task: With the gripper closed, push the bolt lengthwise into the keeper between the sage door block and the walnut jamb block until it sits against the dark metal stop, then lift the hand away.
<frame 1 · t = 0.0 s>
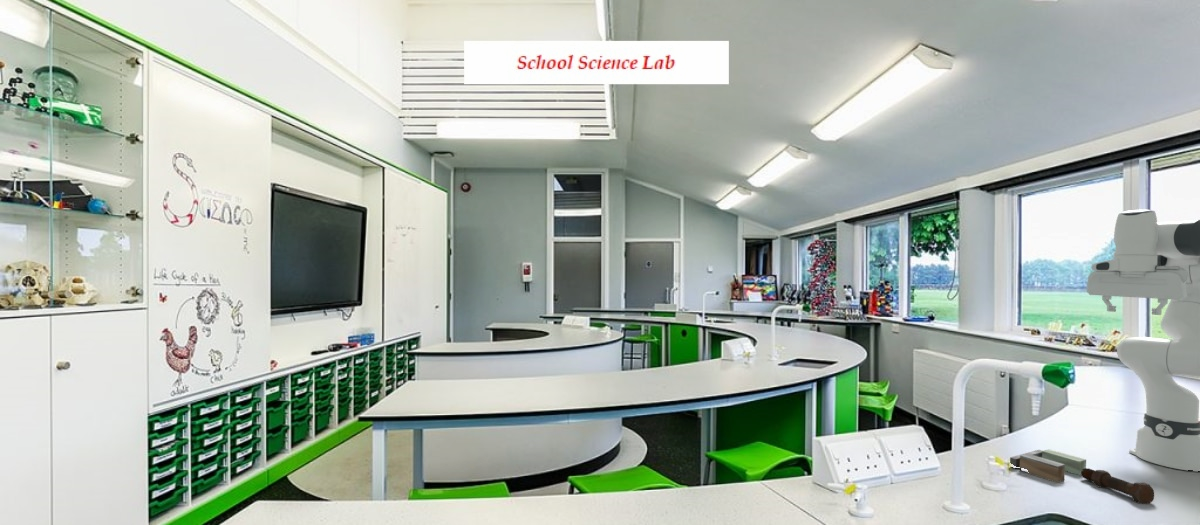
hand: (1133, 313, 148), 48 cm above the countertop, tool pointing down, fingers open, 8 cm apart
keeper: (1059, 473, 150), on the countertop
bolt: (1114, 492, 139), on the countertop
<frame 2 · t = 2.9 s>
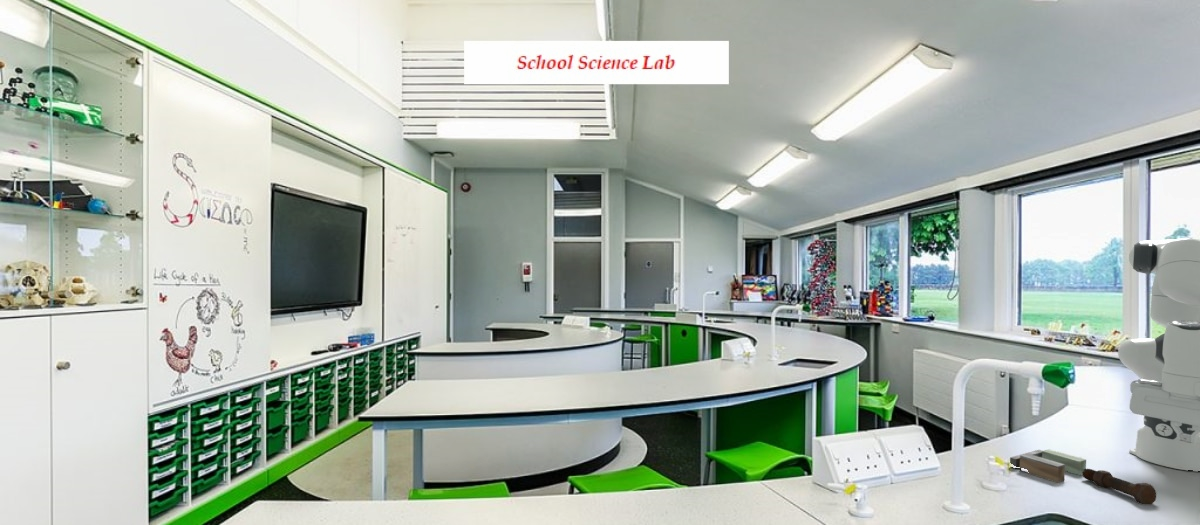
hand: (1186, 441, 127), 18 cm above the countertop, tool pointing down, fingers closed
nothing on the countertop moved.
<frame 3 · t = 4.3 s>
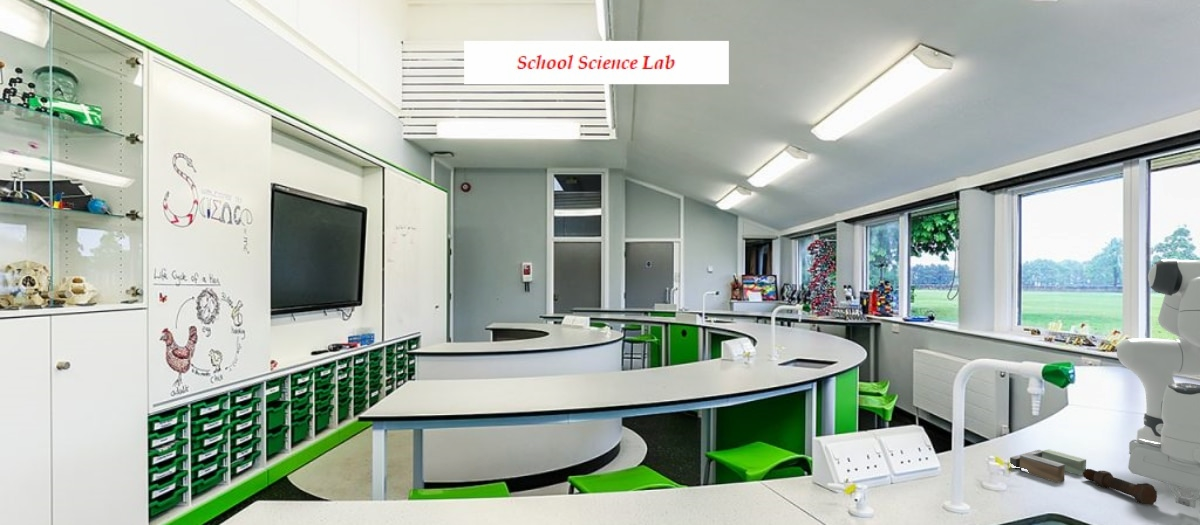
hand: (1185, 505, 127), 2 cm above the countertop, tool pointing down, fingers closed
nothing on the countertop moved.
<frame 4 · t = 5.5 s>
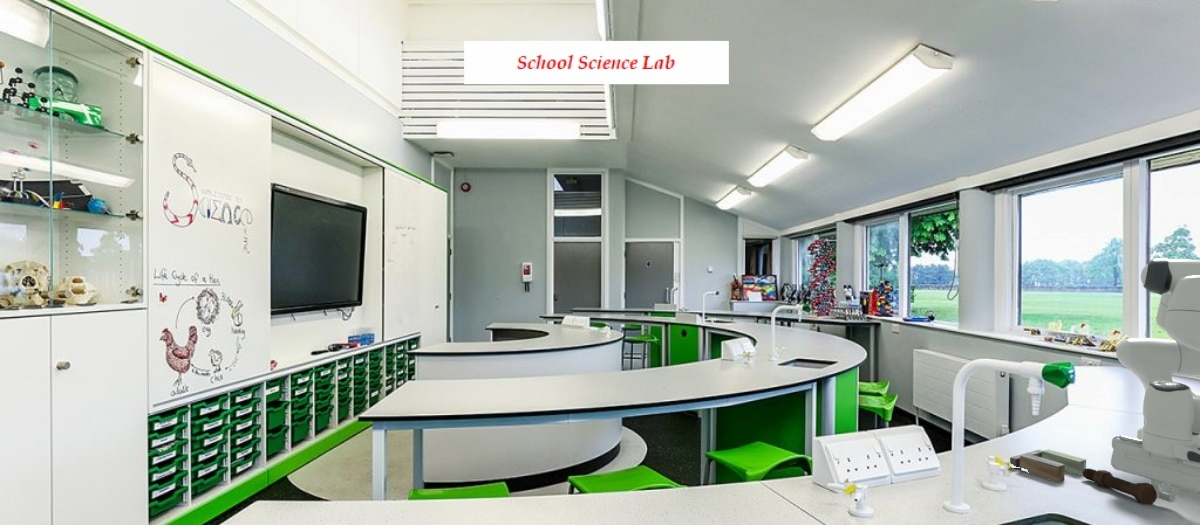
hand: (1165, 500, 130), 2 cm above the countertop, tool pointing down, fingers closed
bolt: (1116, 492, 139), on the countertop, touching gripper
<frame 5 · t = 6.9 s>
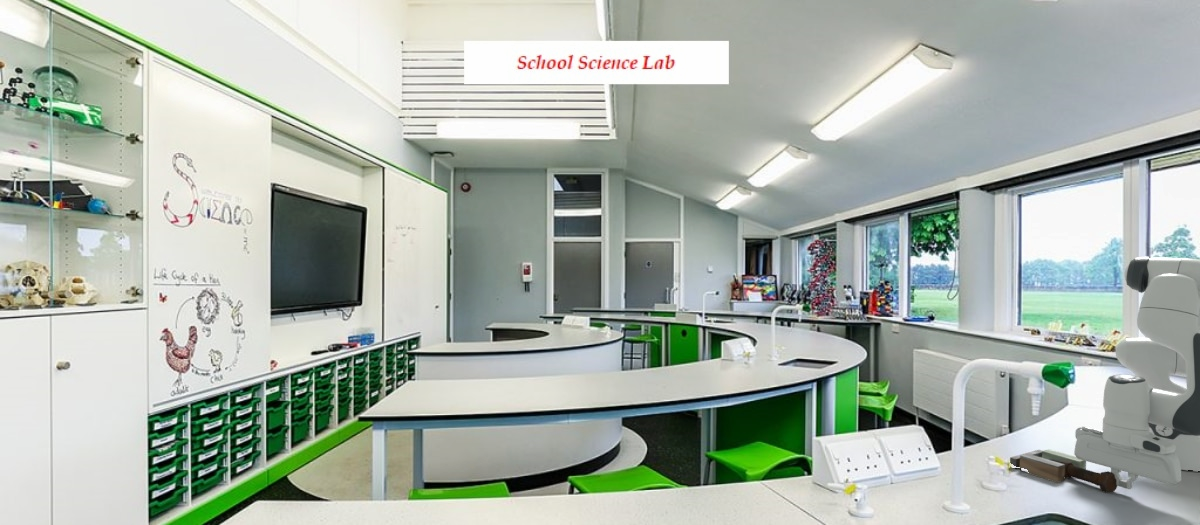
hand: (1123, 487, 137), 2 cm above the countertop, tool pointing down, fingers closed
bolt: (1078, 481, 145), on the countertop, touching gripper
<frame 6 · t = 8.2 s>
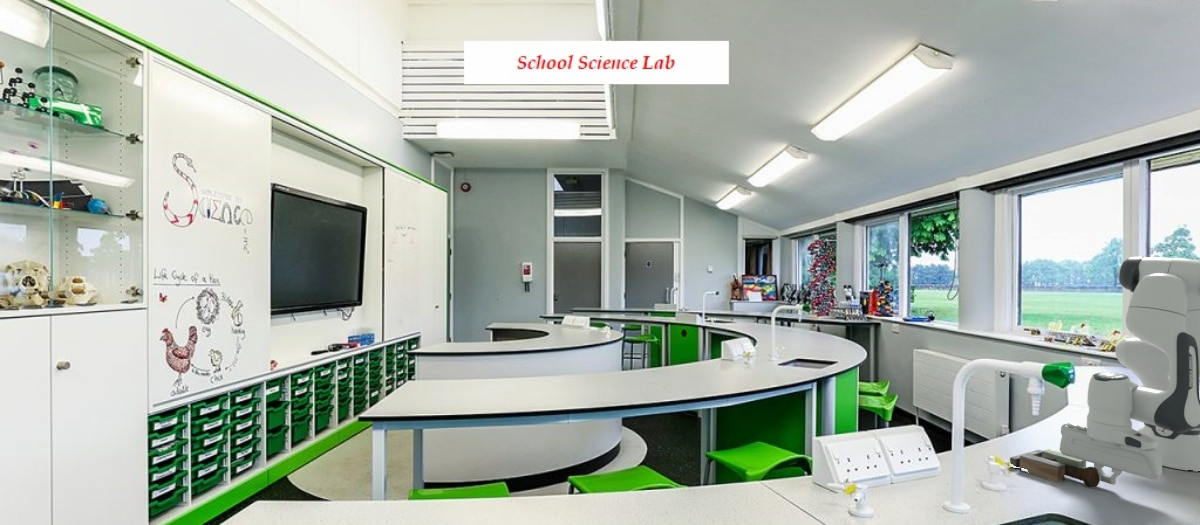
hand: (1107, 482, 140), 2 cm above the countertop, tool pointing down, fingers closed
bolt: (1062, 477, 148), on the countertop, touching gripper
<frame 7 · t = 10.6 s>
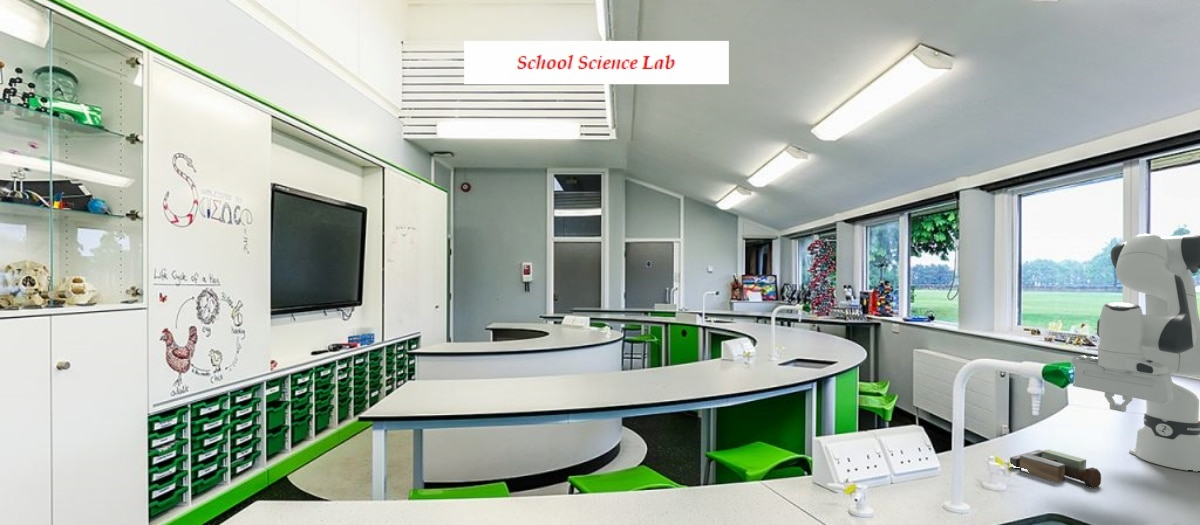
hand: (1117, 410, 142), 21 cm above the countertop, tool pointing down, fingers closed
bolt: (1063, 478, 148), on the countertop
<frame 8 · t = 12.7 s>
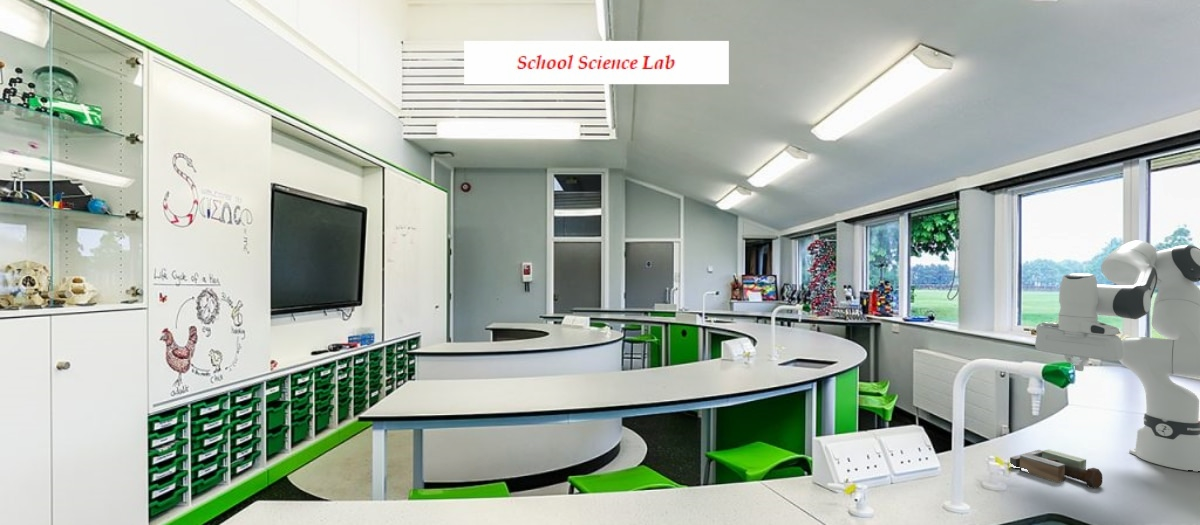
hand: (1076, 370, 158), 29 cm above the countertop, tool pointing down, fingers closed
nothing on the countertop moved.
at the end: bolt 1.1 cm from the target spot on the keeper, point -0.5 cm above the keeper's base; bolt moved 10.3 cm from its start; the gripper is holding nothing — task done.
